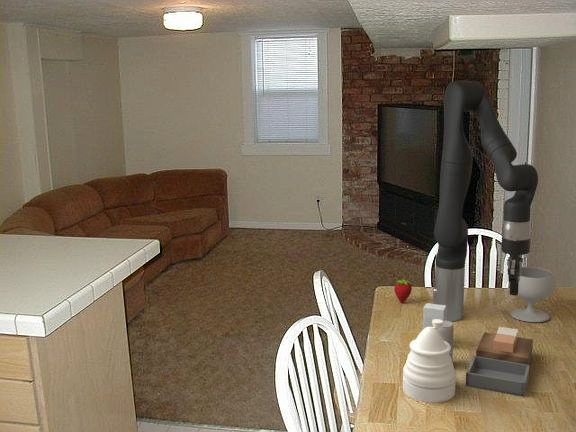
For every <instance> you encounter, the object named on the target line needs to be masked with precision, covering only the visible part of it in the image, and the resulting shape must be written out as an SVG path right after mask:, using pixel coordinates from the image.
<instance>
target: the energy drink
mask: <svg viewBox="0 0 576 432" xmlns="http://www.w3.org/2000/svg"><path fill="white" fill-rule="evenodd" d="M442 321H443V324H442V326H441V327H440V328H439V329H436V330H437V331H438V332H439V333H440V335H441V336H442V338H443V340H444V341H446V342H447V343H449V344H450V346H451V351H450V352H449V355H450V357H451V359H452V363H453V357H454V322H453V321H447V320H442ZM433 327H434V326H433Z"/></svg>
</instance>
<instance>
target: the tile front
mask: <svg viewBox="0 0 576 432" xmlns="http://www.w3.org/2000/svg"><path fill="white" fill-rule="evenodd" d="M495 334H496V336H495V338H494V341H493V350H499V351H505V352H511V353H513V351H514V347H515V339H516V337H513V336H507V335H500V334H497V333H495Z"/></svg>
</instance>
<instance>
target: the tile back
mask: <svg viewBox="0 0 576 432" xmlns="http://www.w3.org/2000/svg"><path fill="white" fill-rule="evenodd" d="M496 334H500V335H507V336H513V337H516V339H515V344H516V341H517V338H518V337H519V336H518V335H519V329H518V328H511V327H502V326H498V329H497V332H496Z"/></svg>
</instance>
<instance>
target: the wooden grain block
mask: <svg viewBox="0 0 576 432" xmlns="http://www.w3.org/2000/svg"><path fill="white" fill-rule="evenodd" d="M496 334H497V333H492V332H486V331H485V332H484V333H483V335H482V336H481V339H480V341H479V344H478V345H477V347H476V350H475V351H476V353H475V356H479V357H485V358H491V359H497V360H503V361H509V362H515V363H521V364H527V365H530V366H531V363H532V358H533V346H534V345H533V344H534V339H531V338H525V337H519V336H518V338H517V341H516V344H515V347H514V351H513V353H511V352H505V351H499V350H493V341H494V338H495V336H496Z"/></svg>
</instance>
